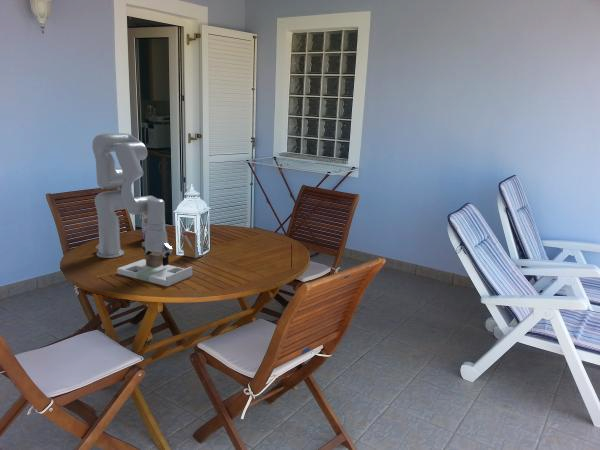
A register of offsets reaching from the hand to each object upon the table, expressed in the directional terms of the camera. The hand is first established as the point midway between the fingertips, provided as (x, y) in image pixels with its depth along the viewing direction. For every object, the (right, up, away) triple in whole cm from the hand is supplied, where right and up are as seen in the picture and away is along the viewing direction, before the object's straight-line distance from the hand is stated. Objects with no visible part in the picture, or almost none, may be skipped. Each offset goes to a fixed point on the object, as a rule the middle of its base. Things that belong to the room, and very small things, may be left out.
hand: (157, 263), depth 220 cm
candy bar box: (-17, +9, +50) cm, 53 cm away
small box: (+11, +2, +26) cm, 28 cm away
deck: (0, -5, -3) cm, 6 cm away
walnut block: (-2, -1, +1) cm, 2 cm away
